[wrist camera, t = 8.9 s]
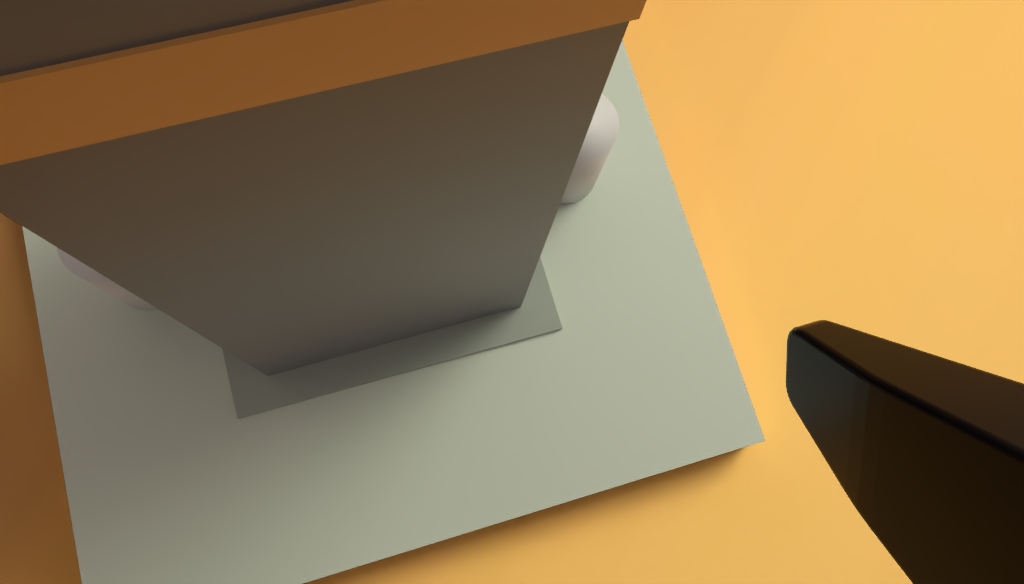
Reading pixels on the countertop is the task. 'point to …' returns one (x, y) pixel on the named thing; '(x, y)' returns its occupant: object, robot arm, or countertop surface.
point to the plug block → (302, 155)
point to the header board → (397, 398)
